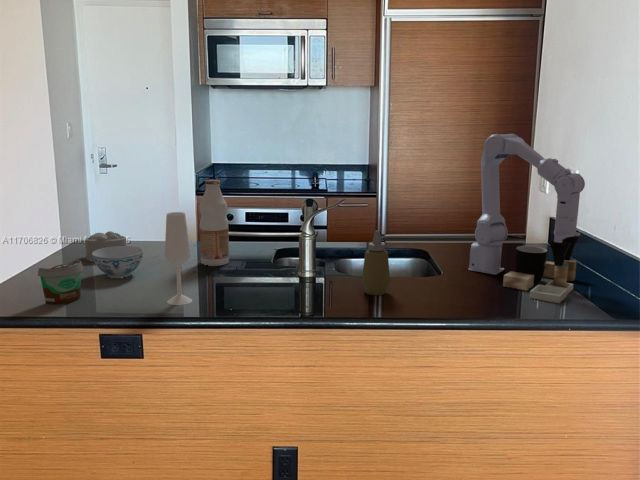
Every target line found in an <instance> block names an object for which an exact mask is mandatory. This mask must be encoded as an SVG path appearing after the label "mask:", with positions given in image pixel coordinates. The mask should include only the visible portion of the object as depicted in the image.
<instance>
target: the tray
mask: <svg viewBox="0 0 640 480" xmlns="http://www.w3.org/2000/svg"><path fill="white" fill-rule="evenodd" d="M567 290H568V289H562V288H556V287H551V286H546V284H545V285H543V284H540V283H538V284H536V285H535V287H534V286H533V288H532V289H531V290H529V296H528V297H529V299H535V300H538V301H544V302H549V303H555V304H560V303H561V302H562V301H564V299H566V298H567V296H568V294H567Z"/></svg>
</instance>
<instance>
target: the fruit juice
mask: <svg viewBox="0 0 640 480" xmlns="http://www.w3.org/2000/svg"><path fill="white" fill-rule="evenodd" d="M204 186H205V190H204V193H203V196H202V199H201V201H200V202H199V206H198V207H199V212H200V215H201V216H200V219H199V242H200V244H199V247H200V262H201V265H203V264H204V266H206V265H208V267H221V266H225V265H227V264H229V262H230V246H229V245H230V243H229V241H230V240H229V220H228V217H227V212H228V204H227V201H226V200H225V198H224V196H223V193H222V190H221V187H220V186H221V181H220V179H207V180H206V179H205V182H204Z"/></svg>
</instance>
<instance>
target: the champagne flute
mask: <svg viewBox="0 0 640 480" xmlns="http://www.w3.org/2000/svg"><path fill="white" fill-rule="evenodd" d="M165 216H166V219H165V220H166V221H165V242H164V244H165V245H164V257H165V259H166V260H167V262H169V264H171V265H172V266H173V267H175V271H176V273H175V274H176V292H177V293H176V295H174V296H172V297H171V298H170V299H168V300H167V302H166V303H167V304H168V305H172V306H183V305H188V304H191V303H192V302H193V299H192V298H191V297H188V296H187V295H184V294H183V292H182V290H183V289H182V273H181V272H182V268H181V267H182V266H184V264H186V263H187V262H188V261H189V259H190V257H191V255H192V254H191V246H190V239H189V233H188V225H187V219H186V213H185V212H183V211H182V212H180V211H174V212H168V213H166V215H165Z"/></svg>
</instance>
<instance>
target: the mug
mask: <svg viewBox="0 0 640 480" xmlns="http://www.w3.org/2000/svg"><path fill="white" fill-rule="evenodd" d="M547 257H548V250H547V249H546V248H544V247H539V246H533V245H521V246H520V245H519V246H517V247H516V249H515V272H519V273H525V274H530V275H534V283H533V285H538V284H540V283H541V281H542V280H543V279H542V278H543V273H544V269H545V264H546V261H547Z"/></svg>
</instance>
